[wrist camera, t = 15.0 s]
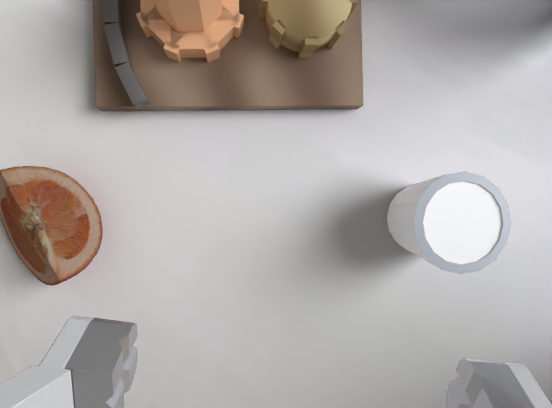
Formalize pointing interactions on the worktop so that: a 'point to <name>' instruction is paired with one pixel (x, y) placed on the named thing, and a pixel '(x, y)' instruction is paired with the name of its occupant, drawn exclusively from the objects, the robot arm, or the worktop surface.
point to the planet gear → (191, 26)
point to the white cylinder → (451, 221)
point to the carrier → (235, 60)
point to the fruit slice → (49, 221)
